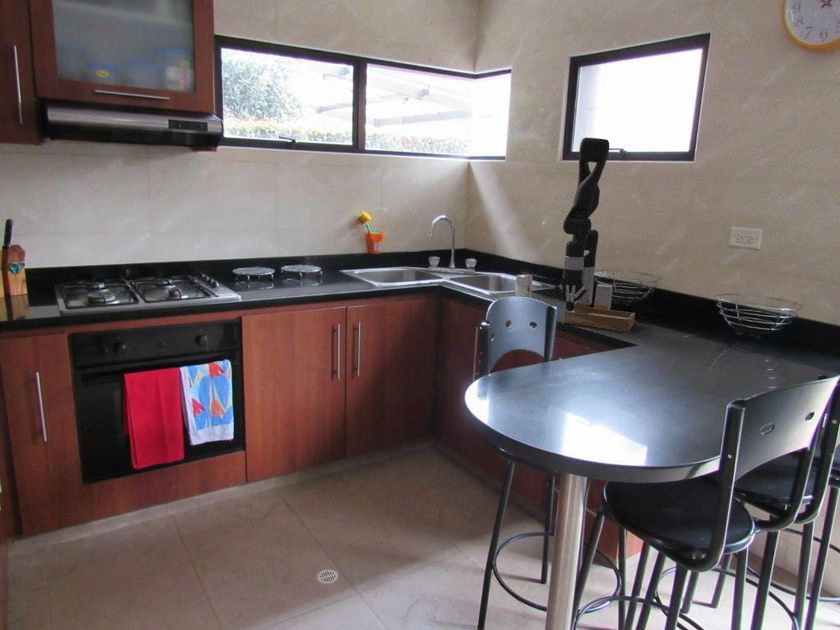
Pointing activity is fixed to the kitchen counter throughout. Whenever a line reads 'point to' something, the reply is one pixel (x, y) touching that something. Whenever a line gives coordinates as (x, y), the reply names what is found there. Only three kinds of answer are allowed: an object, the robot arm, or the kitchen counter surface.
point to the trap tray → (602, 319)
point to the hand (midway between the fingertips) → (569, 310)
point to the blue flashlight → (523, 285)
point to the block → (581, 308)
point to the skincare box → (603, 296)
